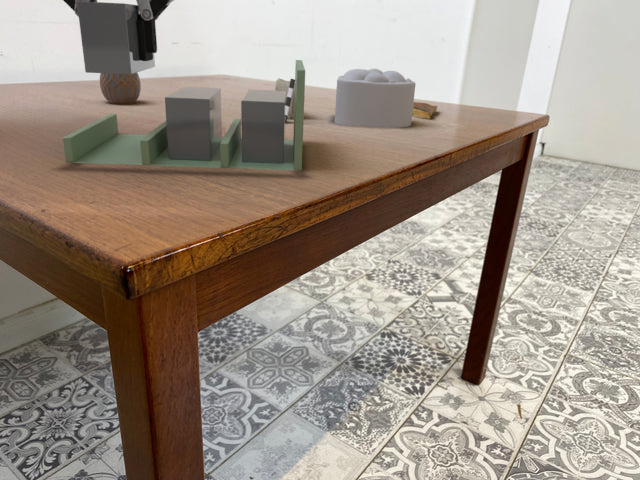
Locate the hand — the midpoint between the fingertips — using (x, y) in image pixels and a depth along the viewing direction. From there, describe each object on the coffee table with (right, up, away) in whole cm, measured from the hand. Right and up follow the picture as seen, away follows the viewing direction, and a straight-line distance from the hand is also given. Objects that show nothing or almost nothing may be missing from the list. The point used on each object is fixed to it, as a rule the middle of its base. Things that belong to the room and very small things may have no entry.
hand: (121, 57), depth 56 cm
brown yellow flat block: (+42, +4, +45) cm, 62 cm away
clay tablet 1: (+7, -9, +4) cm, 12 cm away
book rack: (+7, -10, +5) cm, 13 cm away
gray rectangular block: (0, -1, 0) cm, 1 cm away
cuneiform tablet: (+15, +1, +34) cm, 37 cm away
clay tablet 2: (+15, -9, +5) cm, 18 cm away
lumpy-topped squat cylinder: (+31, 0, +33) cm, 45 cm away
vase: (-15, +5, +39) cm, 42 cm away
